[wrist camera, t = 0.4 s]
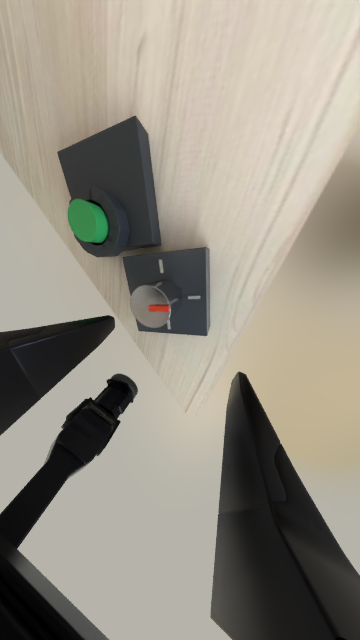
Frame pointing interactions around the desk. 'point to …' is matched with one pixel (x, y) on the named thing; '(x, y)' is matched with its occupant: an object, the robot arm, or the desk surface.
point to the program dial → (156, 302)
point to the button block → (115, 185)
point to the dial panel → (187, 274)
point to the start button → (88, 221)
